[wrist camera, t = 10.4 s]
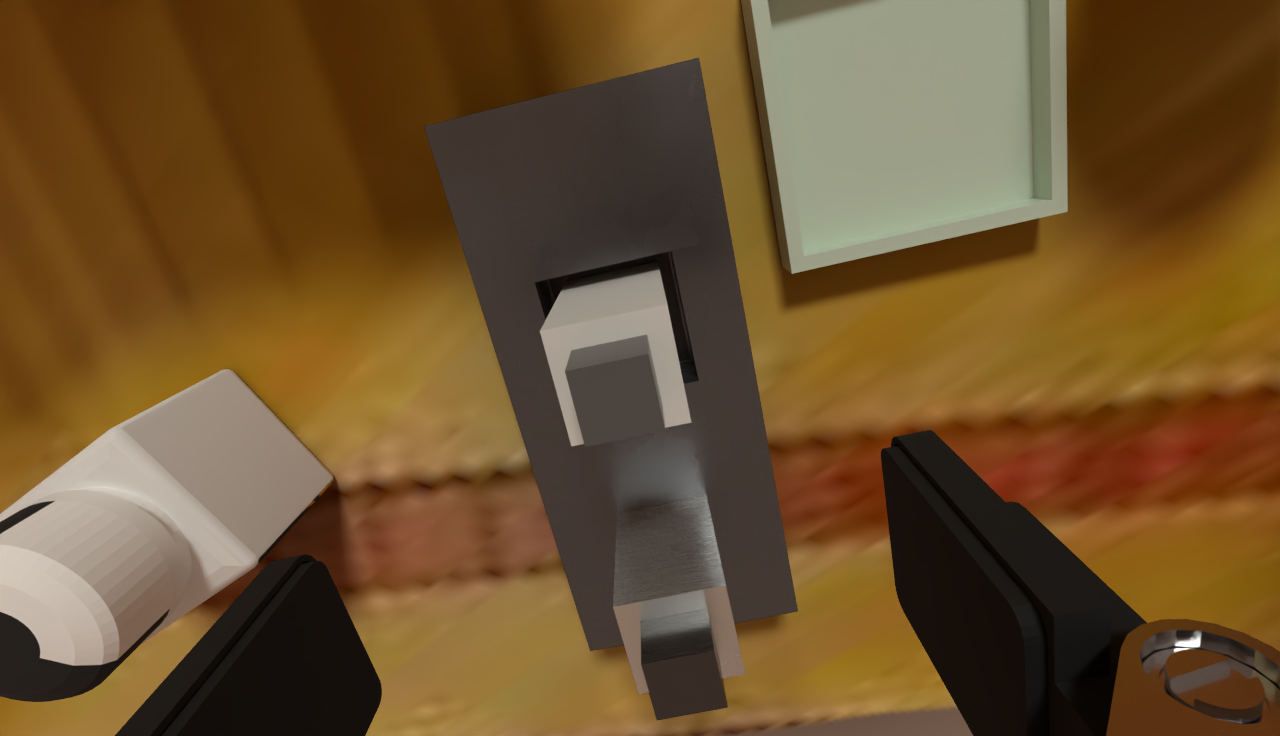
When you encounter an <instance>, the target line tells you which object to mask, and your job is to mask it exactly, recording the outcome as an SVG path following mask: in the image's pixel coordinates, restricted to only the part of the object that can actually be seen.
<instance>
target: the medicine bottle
mask: <svg viewBox="0 0 1280 736" xmlns="http://www.w3.org/2000/svg"><path fill="white" fill-rule="evenodd" d="M332 482H333V475H332V474H331V473H330V472H329V471H328V470H327V469H326V467H325V466H324V465H323V464H322V463H321V462H320V461H319V460H318V459H317V458H316V457H315V456H314V455H313V454H312V453H311V452H310V451H309V450H308V449H307V448H306V447H305V446H304V444H303V443H302V442H301V441H300V440H299V439H298V438H297V437H296V436H295V435H294V434H293V433H292V432H291V431H290V430H289V429H288V428H287V427H286V426H285V425H284V424H283V422H282V421H281V420H280V419H279V418H278V417H277V416H276V415H275V414H274V413H273V412H272V411H271V410H270V409H269V408H268V407H267V406H266V405H265V404H264V403H263V402H262V401H261V399H260V398H259V397H258V396H257V395H256V394H255V393H254V392H253V391H252V390H251V389H250V388H249V387H248V386H247V385H246V384H245V383H244V382H243V381H242V380H241V379H240V378H239V376H238V375H237V374H236V373H235V372H233V371H232V370H229V369H224V370H222V371H219V372H218V373H216V374H214V375H212V376H210V377H208V378H206V379H204V380H202V381H200V382H199V383H197V384H195V385H193V386H191V387H189V388H187V389H185V390H183V391H181V392H180V393H178V394H176V395H174V396H172V397H170V398H168V399H166V400H164V401H162V402H160V403H159V404H157V405H155V406H153V407H151V408H149V409H147V410H145V411H143V412H141V413H140V414H138V415H136V416H134V417H132V418H130V419H128V420H126V421H124V422H122V423H121V424H119V425H117V426H115V427H113V428H111V429H109V430H108V431H107V432H106V433H104V434H103V435H102V436H100V437H99V438H98V439H97V440H95V441H94V442H93V443H91V444H90V445H89V446H87V447H86V448H85V449H84V450H82V451H81V452H80V453H78V454H77V455H76V456H75V457H73V458H72V459H71V460H69V461H68V462H67V463H65V464H64V465H63V466H62V467H60V468H59V469H58V470H56V471H55V472H54V473H53V474H51V475H50V476H49V477H47V478H46V479H45V480H44V481H42V482H41V483H40V484H38V485H37V486H36V487H34V488H33V489H32V490H31V491H29V492H28V493H27V494H25V495H24V496H23V497H22V498H20V499H19V500H18V501H16V502H15V503H14V504H12V505H11V506H10V507H9V508H7V509H6V510H5V511H3V512H2V513H1V514H0V696H2V697H5V698H9V699H14V700H20V701H31V702H44V701H53V700H59V699H64V698H70V697H74V696H77V695H80V694H83V693H85V692H87V691H90V690H92V689H93V688H95V687H96V686H98V685H99V684H101V683H102V682H103V681H104V680H105V679H106V678H107V677H108V676H109V675H110V674H111V673H112V672H113V671H114V670H115V669H116V668H117V667H118V666H119V665H120V664H121V663H122V662H123V661H124V660H125V659H126V658H127V657H128V656H129V655H130V654H131V653H132V652H133V651H134V650H135V649H136V648H137V647H138V646H139V645H140V644H142V643H144V642H145V641H146V640H148V639H149V638H151V637H152V636H154V635H155V634H157V633H158V632H160V631H161V630H163V629H164V628H166V627H167V626H169V625H170V624H172V623H173V622H175V621H176V620H178V619H179V618H180V617H182V616H183V615H185V614H186V613H188V612H189V611H191V610H192V609H194V608H195V607H197V606H198V605H200V604H201V603H203V602H204V601H206V600H207V599H209V598H210V597H212V596H213V595H215V594H216V593H217V592H219V591H220V590H222V589H223V588H225V587H226V586H228V585H229V584H231V583H232V582H234V581H235V580H237V579H238V578H240V577H241V576H243V575H244V574H246V573H247V572H249V571H250V570H251V569H253V568H254V567H256V566H257V565H258V564H259V563H260V561H261V560H262V559H263V558H264V557H265V556H266V555H267V554H268V553H269V552H270V551H271V549H272V548H273V547H274V546H275V545H276V544H277V543H278V542H279V541H280V540H281V538H282V537H283V536H284V535H285V534H286V533H287V532H288V531H289V530H290V529H291V528H292V526H293V525H294V524H295V523H296V522H297V521H298V520H299V519H300V518H301V517H302V516H303V514H304V513H305V512H306V511H307V510H308V509H309V508H310V507H311V506H312V505H313V504H314V502H315V501H316V500H317V499H318V498H319V497H320V496H321V495H322V494H323V493H324V491H325V490H326V489H327V488H328V487H329V486H330V485H331V484H332Z"/></svg>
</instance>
